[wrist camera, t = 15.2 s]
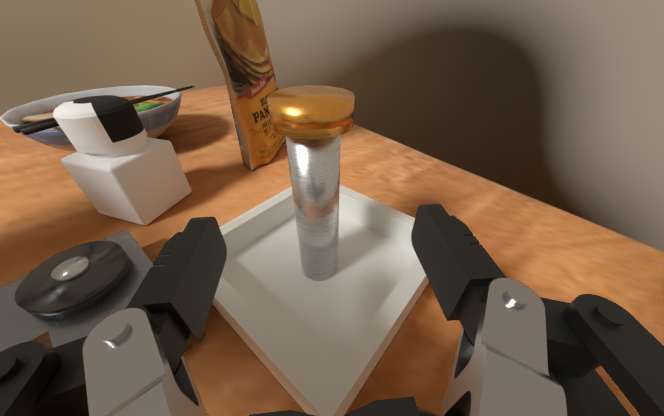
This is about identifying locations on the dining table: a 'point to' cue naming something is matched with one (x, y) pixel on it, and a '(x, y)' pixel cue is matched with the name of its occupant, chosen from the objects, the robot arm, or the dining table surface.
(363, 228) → the tray
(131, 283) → the grey flat square block
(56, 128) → the ramen bowl
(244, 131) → the pancake mix bag
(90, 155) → the medicine bottle
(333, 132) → the pin
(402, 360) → the dining table surface
